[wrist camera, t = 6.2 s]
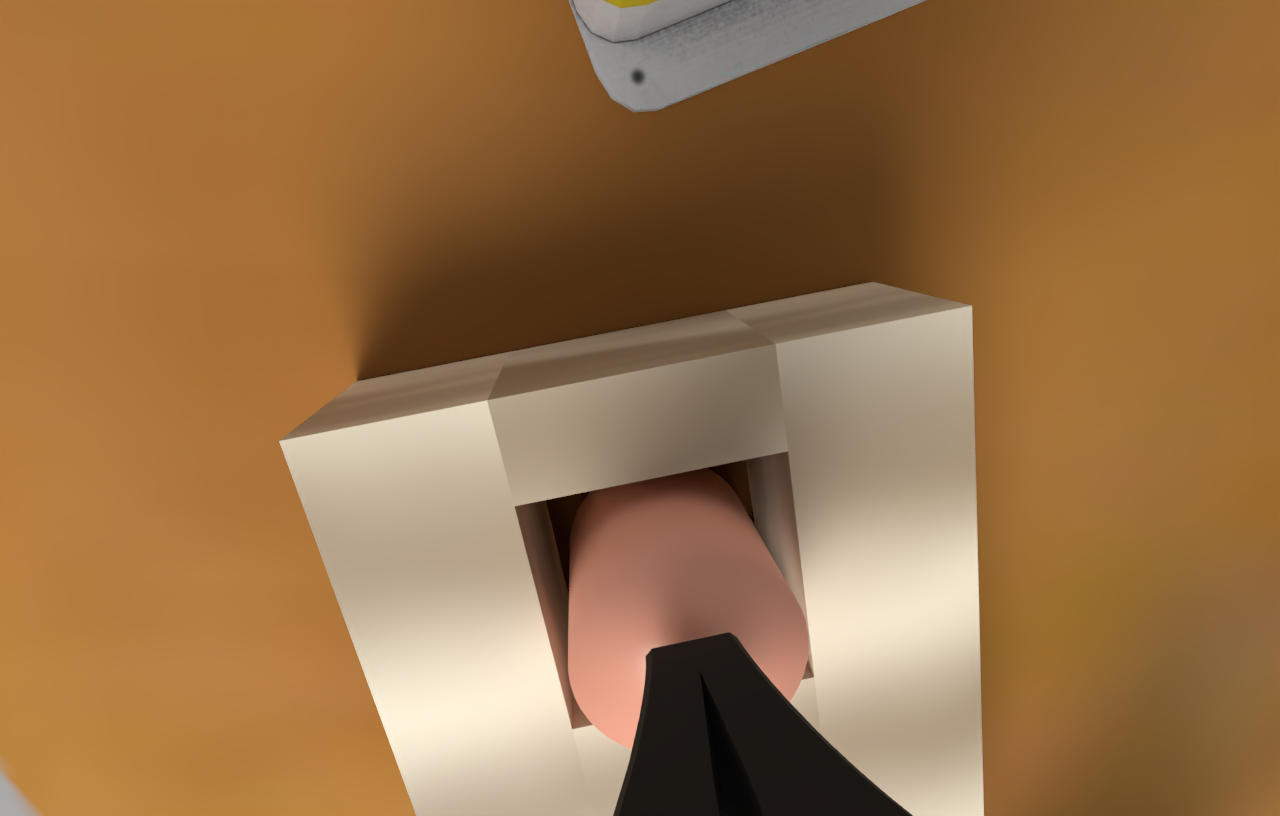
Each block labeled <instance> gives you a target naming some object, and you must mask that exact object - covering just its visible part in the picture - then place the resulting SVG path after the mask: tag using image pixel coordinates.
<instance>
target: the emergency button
mask: <svg viewBox="0 0 1280 816" xmlns="http://www.w3.org/2000/svg"><path fill="white" fill-rule="evenodd" d="M924 1H927V0H569V3H570V6H571V8H572V11H573V14H574V17H575V19H576V22H577V25H578V27H579V30H580V33H581V36H582V38H583V41H584V44H585V46H586V49H587V52H588V55H589V57H590V60H591V63H592V66H593V68H594V71H595V74H596V75H597V77H598V78H599V80H600V82H601V83H602V85H603V86H604V88H605V90H606V91H607V93H608V94H609V96H610V98H611V99H613V100H614V101H616V102H618V103H619V104H621V105H623V106H624V107H626V108H628V109H629V110H631V111H633V112H646V111H658V110H661V109H663V108H666V107H668V106H670V105H673V104H675V103H678V102H680V101H683V100H685V99H687V98H690V97H692V96H695V95H697V94H700V93H702V92H705V91H707V90H709V89H712V88H714V87H717V86H719V85H722V84H724V83H727V82H729V81H731V80H734V79H736V78H739V77H741V76H744V75H746V74H748V73H751V72H753V71H756V70H758V69H761V68H763V67H766V66H768V65H770V64H773V63H775V62H778V61H780V60H783V59H785V58H787V57H790V56H792V55H795V54H797V53H800V52H802V51H805V50H807V49H809V48H812V47H814V46H817V45H819V44H822V43H824V42H827V41H829V40H831V39H834V38H836V37H839V36H841V35H844V34H846V33H848V32H851V31H853V30H856V29H858V28H861V27H863V26H866V25H868V24H870V23H873V22H875V21H878V20H880V19H883V18H885V17H887V16H890V15H892V14H895V13H897V12H900V11H902V10H905V9H907V8H909V7H912V6H914V5H917V4H919V3H922V2H924Z"/></svg>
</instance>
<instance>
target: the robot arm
mask: <svg viewBox="0 0 1280 816" xmlns="http://www.w3.org/2000/svg"><path fill="white" fill-rule="evenodd" d="M613 816H913V815H912V814H911V813H909V812H908V811H907V810H906V809H904V808H903V807H902V806H901V805H899V804H898V803H897V802H896V801H894V800H893V799H892V798H891V797H889V796H888V795H887V794H886V793H885V792H884V791H882V790H881V789H880V788H879V787H878V786H876V785H875V784H874V783H873V782H872V781H871V780H870V779H868V778H867V777H866V776H865V775H864V774H863V773H862V772H860V771H859V770H858V769H857V768H856V767H855V766H854V765H853V764H852V763H851V762H850V761H848V760H847V759H846V758H845V757H844V756H843V755H842V754H841V753H840V752H839V751H838V750H837V749H835V748H834V747H833V746H832V745H831V744H830V743H829V742H828V741H827V740H826V739H825V738H824V737H823V736H822V735H821V734H820V733H819V732H818V731H817V730H816V729H815V728H814V727H813V726H812V725H811V724H810V723H809V722H808V721H807V720H806V719H805V718H804V717H803V715H802V714H801V713H800V712H799V711H798V710H797V709H796V708H795V707H794V706H793V705H792V704H791V703H790V702H789V701H788V700H787V699H786V698H785V696H784V695H783V694H782V693H781V692H780V691H779V690H778V689H777V688H776V686H775V685H774V684H773V683H772V682H771V681H770V679H769V678H768V677H767V676H766V675H765V674H764V672H763V671H762V670H761V669H760V667H759V666H758V665H757V664H756V663H755V661H754V660H753V659H752V657H751V656H750V655H749V653H748V652H747V651H746V649H745V648H744V647H743V645H742V644H741V642H740V641H739V639H738V638H737V637H736V636H735V635H733V634H731V633H730V632H728V633H723V634H718V635H714V636H709V637H704V638H699V639H695V640H690V641H685V642H680V643H676V644H671V645H666V646H661V647H657V648H652V649H651V650H650V651H649V653H648V654H647V655H646V673H645V685H644V692H643V699H642V705H641V710H640V716H639V721H638V725H637V730H636V734H635V738H634V743H633V747H632V751H631V756H630V760H629V764H628V767H627V771H626V774H625V778H624V781H623V784H622V788H621V791H620V794H619V797H618V801H617V804H616V807H615V811H614V814H613Z"/></svg>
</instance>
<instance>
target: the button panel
mask: <svg viewBox="0 0 1280 816" xmlns="http://www.w3.org/2000/svg"><path fill="white" fill-rule="evenodd" d="M279 442H280V445H281V447H282V450H283V453H284V456H285V458H286V461H287V464H288V466H289V469H290V472H291V475H292V477H293V480H294V483H295V486H296V488H297V491H298V494H299V496H300V499H301V502H302V505H303V507H304V510H305V513H306V516H307V518H308V521H309V524H310V527H311V529H312V532H313V535H314V537H315V540H316V543H317V546H318V548H319V551H320V554H321V557H322V559H323V562H324V565H325V567H326V570H327V573H328V576H329V578H330V581H331V584H332V587H333V589H334V592H335V595H336V597H337V600H338V603H339V606H340V608H341V611H342V614H343V617H344V619H345V622H346V625H347V627H348V630H349V633H350V636H351V638H352V641H353V644H354V647H355V649H356V652H357V655H358V658H359V660H360V663H361V666H362V668H363V671H364V674H365V677H366V679H367V682H368V685H369V688H370V690H371V693H372V696H373V698H374V701H375V704H376V707H377V709H378V712H379V715H380V718H381V720H382V723H383V726H384V728H385V731H386V734H387V737H388V739H389V742H390V745H391V748H392V750H393V753H394V756H395V758H396V761H397V764H398V767H399V769H400V772H401V775H402V778H403V780H404V783H405V786H406V789H407V791H408V794H409V797H410V799H411V802H412V805H413V808H414V810H415V813H416V816H613V814H614V811H615V807H616V804H617V801H618V797H619V794H620V791H621V788H622V784H623V781H624V778H625V774H626V771H627V767H628V764H629V760H630V756H631V751H632V749H629V748H627V747H625V746H622V745H620V744H618V743H617V742H615V741H613V740H611V739H610V738H608V737H607V736H606V735H604V734H603V733H602V732H600V731H599V730H598V729H597V728H596V727H595V726H594V725H593V724H592V723H591V722H590V721H589V720H588V718H587V717H586V716H585V714H584V713H583V712H582V710H581V709H580V707H579V705H578V703H577V701H576V699H575V697H574V694H573V691H572V688H571V685H570V680H569V674H568V624H569V594H568V590H567V586H566V582H565V578H564V574H563V569H562V565H561V561H560V557H559V553H558V549H557V545H556V540H555V536H554V532H553V528H552V524H551V520H550V516H549V512H548V507H547V503H546V500H549V499H554V498H559V497H564V496H569V495H574V494H579V493H583V492H588V491H593V490H598V489H603V488H608V487H613V486H618V485H623V484H628V483H633V482H638V481H643V480H648V479H653V478H658V477H663V476H668V475H673V474H678V473H682V472H687V471H692V470H697V469H702V468H707V467H712V466H717V465H722V464H727V463H732V462H737V461H742V460H746V466H747V473H748V480H749V488H750V495H751V502H752V509H753V517H754V524H755V527H756V529H757V531H758V533H759V534H760V536H761V538H762V540H763V542H764V543H765V545H766V547H767V549H768V550H769V552H770V554H771V556H772V557H773V559H774V561H775V563H776V564H777V566H778V568H779V570H780V572H781V573H782V575H783V577H784V579H785V580H786V582H787V584H788V586H789V587H790V589H791V591H792V593H793V594H794V596H795V598H796V600H797V602H798V603H799V605H800V607H801V609H802V612H803V615H804V617H805V620H806V624H807V629H808V636H809V652H808V661H807V665H806V668H805V672H804V675H803V678H802V680H801V683H800V685H799V687H798V689H797V691H796V692H795V694H794V696H793V698H792V699H791V701H790V703H791V704H792V705H793V706H794V707H795V708H796V709H797V710H798V711H799V712H800V713H801V714H802V715H803V717H804V718H805V719H806V720H807V721H808V722H809V723H810V724H811V725H812V726H813V727H814V728H815V729H816V730H817V731H818V732H819V733H820V734H821V735H822V736H823V737H824V738H825V739H826V740H827V741H828V742H829V743H830V744H831V745H832V746H833V747H834V748H835V749H837V750H838V751H839V752H840V753H841V754H842V755H843V756H844V757H845V758H846V759H847V760H848V761H850V762H851V763H852V764H853V765H854V766H855V767H856V768H857V769H858V770H859V771H860V772H862V773H863V774H864V775H865V776H866V777H867V778H868V779H870V780H871V781H872V782H873V783H874V784H875V785H876V786H878V787H879V788H880V789H881V790H882V791H884V792H885V793H886V794H887V795H888V796H889V797H891V798H892V799H893V800H894V801H896V802H897V803H898V804H899V805H901V806H902V807H903V808H904V809H906V810H907V811H908V812H909V813H911V814H912V815H913V816H984V799H983V756H982V714H981V671H980V628H979V586H978V543H977V500H976V457H975V415H974V372H973V329H972V305H967V304H963V303H959V302H955V301H951V300H947V299H942V298H938V297H934V296H930V295H926V294H922V293H917V292H913V291H909V290H905V289H901V288H897V287H892V286H888V285H884V284H880V283H876V282H869V283H864V284H858V285H853V286H848V287H843V288H838V289H832V290H827V291H822V292H817V293H812V294H807V295H801V296H796V297H791V298H786V299H781V300H775V301H770V302H765V303H760V304H755V305H750V306H744V307H739V308H734V309H729V310H724V311H719V312H713V313H708V314H703V315H698V316H693V317H687V318H682V319H677V320H672V321H667V322H662V323H656V324H651V325H646V326H641V327H636V328H630V329H625V330H620V331H615V332H610V333H605V334H599V335H594V336H589V337H584V338H579V339H573V340H568V341H563V342H558V343H553V344H548V345H542V346H537V347H532V348H527V349H522V350H516V351H511V352H506V353H501V354H496V355H491V356H485V357H480V358H475V359H470V360H465V361H459V362H454V363H449V364H444V365H439V366H434V367H428V368H423V369H418V370H413V371H408V372H402V373H397V374H392V375H387V376H382V377H377V378H371V379H366V380H361V381H356V382H355V383H353V384H352V385H351V386H349V387H348V388H347V389H346V390H344V391H343V392H342V393H340V394H339V395H338V396H337V397H335V398H334V399H333V400H331V401H330V402H329V403H328V404H326V405H325V406H324V407H322V408H321V409H320V410H319V411H317V412H316V413H315V414H313V415H312V416H311V417H310V418H308V419H307V420H306V421H304V422H303V423H302V424H300V425H299V426H298V427H297V428H295V429H294V430H293V431H291V432H290V433H289V434H288V435H286V436H285V437H284V438H282V439H281V440H280V441H279Z"/></svg>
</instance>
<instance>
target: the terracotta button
mask: <svg viewBox="0 0 1280 816" xmlns="http://www.w3.org/2000/svg"><path fill="white" fill-rule="evenodd" d="M728 632H730V633H731V634H733V635H735V636H736V637H737V638H738V639H739V641H740V642H741V644H742V645H743V647H744V648H745V649H746V651H747V652H748V653H749V655H750V656H751V657H752V659H753V660H754V661H755V663H756V664H757V665H758V666H759V667H760V669H761V670H762V671H763V672H764V674H765V675H766V676H767V677H768V678H769V679H770V681H771V682H772V683H773V684H774V685H775V686H776V688H777V689H778V690H779V691H780V692H781V693H782V694H783V695H784V696H785V698H786V699H787V700H788V701H789V702H790V701H791V699H792V698H793V696H794V694H795V692H796V691H797V689H798V687H799V685H800V683H801V680H802V678H803V675H804V672H805V668H806V665H807V661H808V652H809V636H808V629H807V624H806V620H805V617H804V615H803V612H802V609H801V607H800V605H799V603H798V602H797V600H796V598H795V596H794V594H793V593H792V591H791V589H790V587H789V586H788V584H787V582H786V580H785V579H784V577H783V575H782V573H781V572H780V570H779V568H778V566H777V564H776V563H775V561H774V559H773V557H772V556H771V554H770V552H769V550H768V549H767V547H766V545H765V543H764V542H763V540H762V538H761V536H760V534H759V533H758V531H757V529H756V527H755V526H754V524H753V522H752V520H751V519H750V517H749V515H748V513H747V512H746V510H745V508H744V506H743V504H742V503H741V501H740V499H739V497H738V496H737V494H736V493H735V491H734V490H733V489H732V488H731V486H730V485H729V484H728V483H727V482H726V481H725V480H724V479H723V478H721V477H720V476H719V475H717V474H716V473H715V472H713V471H711V470H710V469H708V468H702V469H697V470H692V471H687V472H682V473H678V474H673V475H668V476H663V477H658V478H653V479H648V480H643V481H638V482H633V483H628V484H623V485H618V486H613V487H608V488H603V489H598V490H593V491H590V492H589V494H588V495H587V496H586V497H585V499H584V500H583V502H582V503H581V505H580V507H579V509H578V511H577V513H576V515H575V518H574V521H573V525H572V528H571V536H570V568H569V624H568V674H569V680H570V685H571V688H572V691H573V694H574V697H575V699H576V701H577V703H578V705H579V707H580V709H581V710H582V712H583V713H584V714H585V716H586V717H587V718H588V720H589V721H590V722H591V723H592V724H593V725H594V726H595V727H596V728H597V729H598V730H599V731H600V732H602V733H603V734H604V735H606V736H607V737H608V738H610V739H611V740H613V741H615V742H617V743H618V744H620V745H622V746H625V747H627V748H629V749H632V747H633V743H634V738H635V734H636V730H637V725H638V721H639V716H640V710H641V705H642V699H643V692H644V685H645V673H646V655H647V654H648V653H649V651H650V650H651V649H652V648H657V647H661V646H666V645H671V644H676V643H680V642H685V641H690V640H695V639H699V638H704V637H709V636H714V635H718V634H723V633H728Z"/></svg>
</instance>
